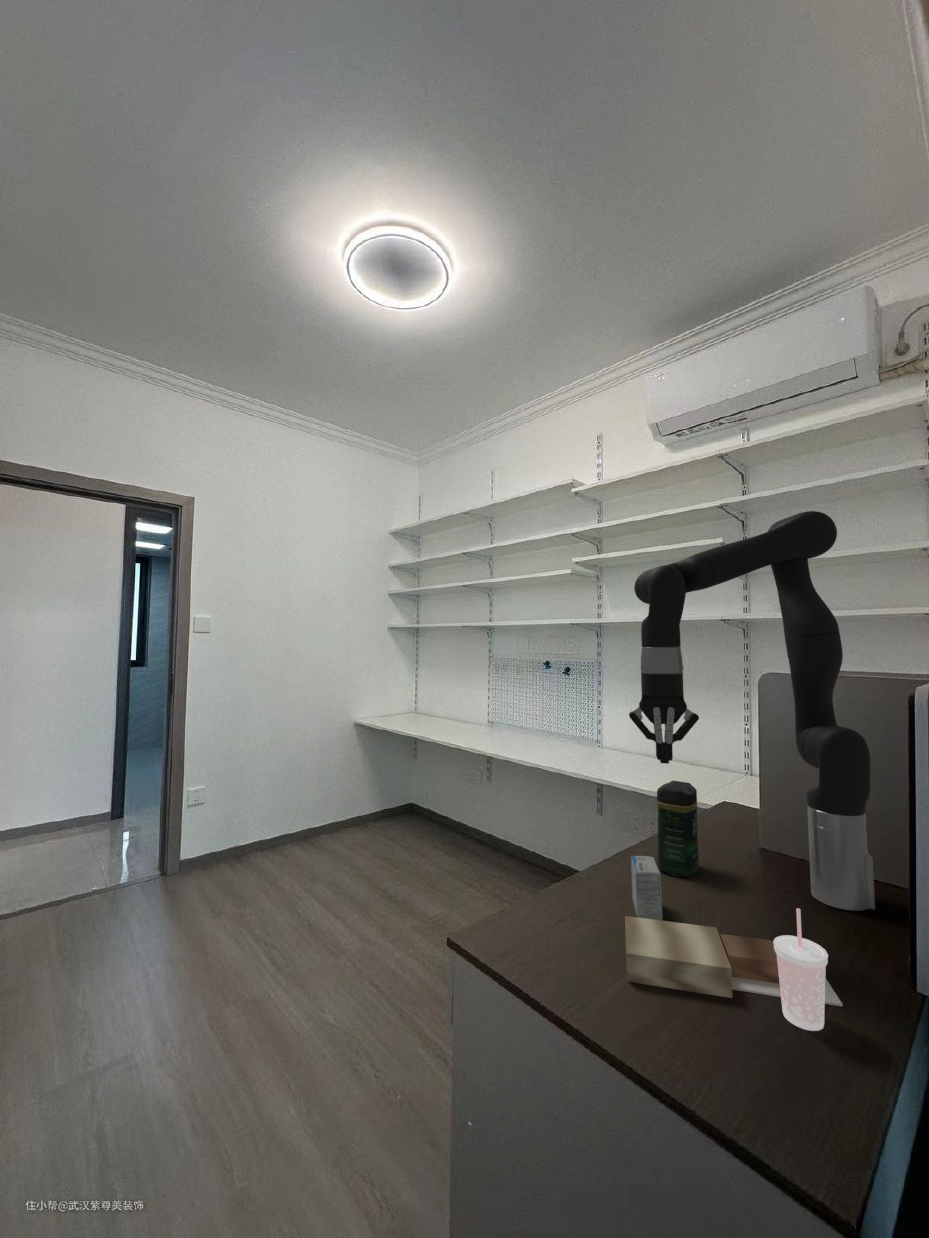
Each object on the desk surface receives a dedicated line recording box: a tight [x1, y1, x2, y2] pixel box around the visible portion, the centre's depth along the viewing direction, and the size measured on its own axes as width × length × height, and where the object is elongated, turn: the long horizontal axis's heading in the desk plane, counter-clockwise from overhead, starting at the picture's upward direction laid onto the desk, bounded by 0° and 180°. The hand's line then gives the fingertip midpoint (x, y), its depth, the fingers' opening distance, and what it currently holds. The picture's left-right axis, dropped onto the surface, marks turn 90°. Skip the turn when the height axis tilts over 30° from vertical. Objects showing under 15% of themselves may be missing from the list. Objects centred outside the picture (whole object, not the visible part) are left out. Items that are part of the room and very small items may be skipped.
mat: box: [732, 977, 844, 1007], centre depth 77 cm, size 14×9×1 cm, turn 74°
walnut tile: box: [719, 933, 780, 984], centre depth 79 cm, size 9×6×3 cm, turn 75°
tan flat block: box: [624, 915, 733, 999], centre depth 80 cm, size 14×11×4 cm
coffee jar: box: [656, 780, 700, 877], centre depth 115 cm, size 10×8×19 cm
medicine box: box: [630, 855, 664, 921], centre depth 97 cm, size 8×4×9 cm, turn 168°
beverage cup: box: [773, 907, 829, 1032], centre depth 69 cm, size 6×6×14 cm
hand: (664, 762), depth 99 cm, fingers closed
